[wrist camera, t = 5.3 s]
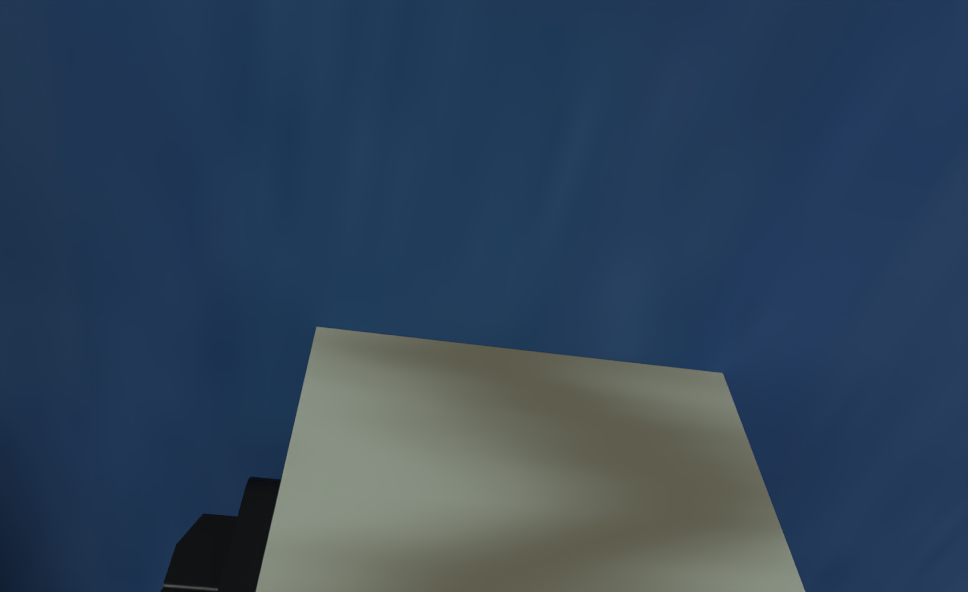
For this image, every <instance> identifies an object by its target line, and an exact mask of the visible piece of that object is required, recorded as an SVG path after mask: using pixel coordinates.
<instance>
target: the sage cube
mask: <svg viewBox="0 0 968 592" xmlns="http://www.w3.org/2000/svg"><path fill="white" fill-rule="evenodd" d="M256 592H805V590H804V587H803V585H802V582H801V579H800V577H799V574H798V571H797V569H796V566H795V563H794V561H793V558H792V556H791V553H790V550H789V548H788V545H787V542H786V540H785V537H784V534H783V532H782V529H781V526H780V524H779V521H778V518H777V516H776V513H775V511H774V508H773V505H772V503H771V500H770V497H769V495H768V492H767V489H766V487H765V484H764V481H763V479H762V476H761V473H760V471H759V468H758V466H757V463H756V460H755V458H754V455H753V452H752V450H751V447H750V444H749V442H748V439H747V436H746V434H745V431H744V429H743V426H742V423H741V421H740V418H739V415H738V413H737V410H736V407H735V405H734V402H733V399H732V397H731V394H730V391H729V389H728V386H727V384H726V381H725V378H724V376H723V373H717V372H708V371H699V370H690V369H682V368H673V367H664V366H655V365H647V364H638V363H629V362H620V361H612V360H603V359H594V358H585V357H577V356H568V355H559V354H550V353H542V352H533V351H524V350H515V349H507V348H498V347H489V346H480V345H472V344H463V343H454V342H446V341H437V340H428V339H419V338H411V337H402V336H393V335H384V334H376V333H367V332H358V331H349V330H341V329H332V328H323V327H316V332H315V336H314V340H313V345H312V349H311V353H310V358H309V362H308V366H307V371H306V375H305V379H304V384H303V388H302V392H301V397H300V401H299V406H298V410H297V414H296V419H295V423H294V427H293V432H292V436H291V440H290V445H289V449H288V453H287V458H286V462H285V466H284V471H283V475H282V479H281V484H280V488H279V493H278V497H277V501H276V506H275V510H274V514H273V519H272V523H271V527H270V532H269V536H268V540H267V545H266V549H265V553H264V558H263V562H262V566H261V571H260V575H259V580H258V584H257V588H256Z"/></svg>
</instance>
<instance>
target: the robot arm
mask: <svg viewBox="0 0 968 592" xmlns="http://www.w3.org/2000/svg"><path fill="white" fill-rule="evenodd" d="M280 484H281V480H279V479H268V478H258V477H250V478H249V480H248V482H247V485H246V488H245V491H244V495H243V499H242V503H241V506H240V510H239V514H238V517H236V516H224V515H213V514H203V515H202V516H201V517H200V518H199V519H198V520H197V521H196V523H195V524H194V525H193V526H192V527H191V528H190V530H189V531H188V532H187V533H186V534H185V535H184V536H183V538H182V539H181V540H180V541H179V542H178V543H177V544H176V547H175V550H174V553H173V556H172V559H171V562H170V565H169V568H168V571H167V574H166V577H165V580H164V586H163V589H161V592H256V588H257V584H258V580H259V575H260V571H261V566H262V562H263V558H264V553H265V549H266V545H267V540H268V536H269V532H270V527H271V523H272V519H273V514H274V510H275V506H276V501H277V497H278V493H279V488H280Z"/></svg>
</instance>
